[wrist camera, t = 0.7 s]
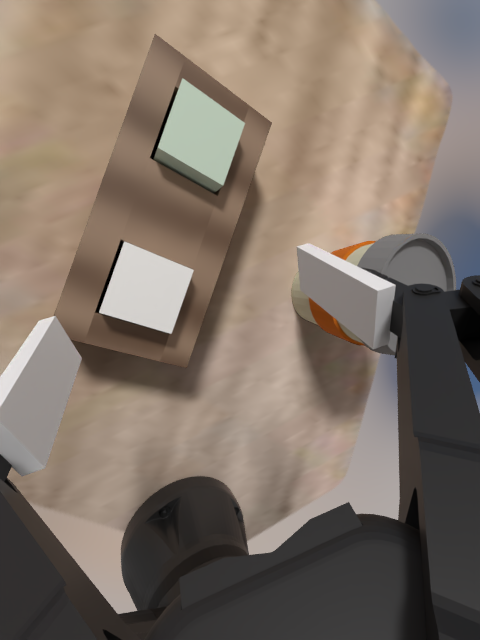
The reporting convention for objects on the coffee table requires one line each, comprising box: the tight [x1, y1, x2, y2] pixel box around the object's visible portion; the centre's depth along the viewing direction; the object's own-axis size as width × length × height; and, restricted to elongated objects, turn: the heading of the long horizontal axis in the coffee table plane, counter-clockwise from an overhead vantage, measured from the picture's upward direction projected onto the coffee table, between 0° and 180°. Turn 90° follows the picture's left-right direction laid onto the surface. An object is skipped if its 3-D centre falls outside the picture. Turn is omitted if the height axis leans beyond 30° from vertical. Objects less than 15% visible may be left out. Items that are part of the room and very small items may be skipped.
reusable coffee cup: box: [291, 234, 456, 355], centre depth 34 cm, size 13×13×15 cm
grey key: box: [99, 241, 194, 334], centre depth 26 cm, size 6×6×5 cm
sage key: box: [153, 78, 245, 194], centre depth 26 cm, size 6×6×5 cm
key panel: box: [54, 34, 272, 368], centre depth 28 cm, size 26×12×6 cm, turn 159°
